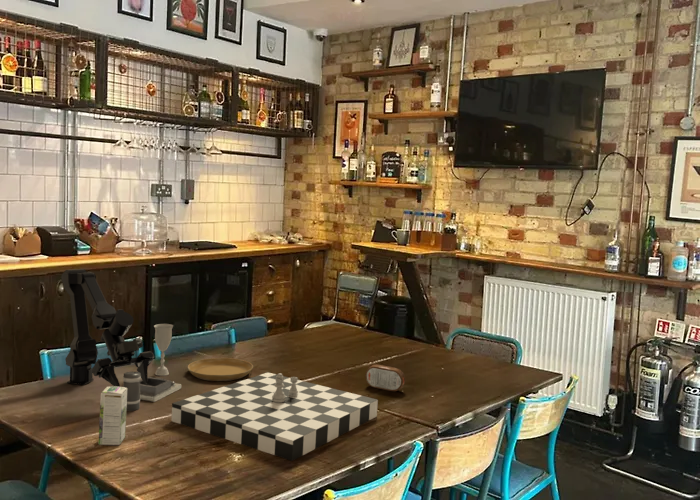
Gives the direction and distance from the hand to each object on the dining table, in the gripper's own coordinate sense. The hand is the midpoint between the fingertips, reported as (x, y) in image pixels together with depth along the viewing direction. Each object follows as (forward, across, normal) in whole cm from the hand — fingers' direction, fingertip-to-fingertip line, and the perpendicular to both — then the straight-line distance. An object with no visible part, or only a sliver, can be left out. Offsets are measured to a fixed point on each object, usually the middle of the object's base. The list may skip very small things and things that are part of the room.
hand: (133, 386), depth 205 cm
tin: (+31, +80, -20) cm, 88 cm away
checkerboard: (+30, +30, -19) cm, 46 cm away
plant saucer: (-5, +45, +16) cm, 48 cm away
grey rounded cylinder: (+4, 0, +6) cm, 7 cm away
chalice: (-14, +28, +25) cm, 40 cm away
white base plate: (-2, +14, +12) cm, 18 cm away
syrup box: (+19, -17, -9) cm, 27 cm away
